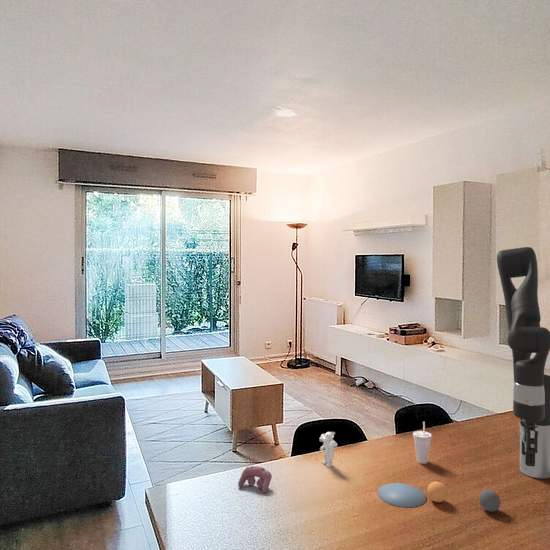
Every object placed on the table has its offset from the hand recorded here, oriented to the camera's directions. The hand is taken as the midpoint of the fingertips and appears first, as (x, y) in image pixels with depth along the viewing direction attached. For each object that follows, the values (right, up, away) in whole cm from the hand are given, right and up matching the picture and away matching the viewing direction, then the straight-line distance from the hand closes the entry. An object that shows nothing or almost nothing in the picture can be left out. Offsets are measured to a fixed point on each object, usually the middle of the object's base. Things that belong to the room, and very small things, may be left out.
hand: (528, 459), depth 125 cm
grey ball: (-9, -13, +4) cm, 16 cm away
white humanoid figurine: (-51, -15, +34) cm, 63 cm away
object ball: (-22, -13, +9) cm, 27 cm away
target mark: (-31, -16, +12) cm, 37 cm away
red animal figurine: (-75, -16, +18) cm, 79 cm away
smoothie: (-18, -15, +36) cm, 43 cm away
